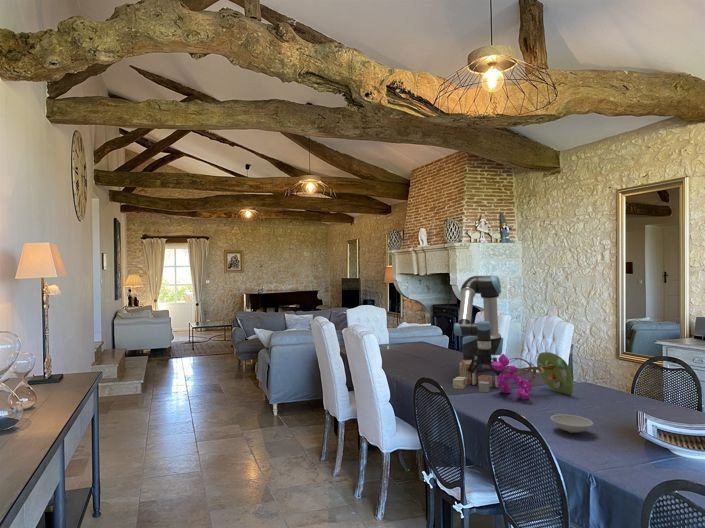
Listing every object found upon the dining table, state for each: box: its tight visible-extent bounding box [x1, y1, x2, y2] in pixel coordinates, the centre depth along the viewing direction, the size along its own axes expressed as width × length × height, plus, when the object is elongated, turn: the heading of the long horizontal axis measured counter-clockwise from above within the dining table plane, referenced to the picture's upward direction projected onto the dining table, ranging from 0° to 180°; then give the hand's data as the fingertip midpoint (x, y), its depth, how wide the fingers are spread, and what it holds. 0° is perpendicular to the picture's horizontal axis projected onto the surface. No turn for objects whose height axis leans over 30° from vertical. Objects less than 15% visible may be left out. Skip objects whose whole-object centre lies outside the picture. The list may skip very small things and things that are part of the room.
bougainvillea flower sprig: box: [491, 351, 574, 400], centre depth 266 cm, size 30×28×35 cm
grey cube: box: [478, 381, 491, 394], centre depth 277 cm, size 5×5×5 cm
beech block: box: [452, 376, 468, 390], centre depth 289 cm, size 9×6×5 cm, turn 152°
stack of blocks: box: [458, 359, 478, 385], centre depth 307 cm, size 21×6×12 cm, turn 179°
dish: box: [550, 413, 594, 434], centre depth 202 cm, size 18×14×5 cm
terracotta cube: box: [477, 374, 493, 388], centre depth 289 cm, size 6×6×6 cm
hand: (485, 385), depth 289 cm, fingers open, 13 cm apart
